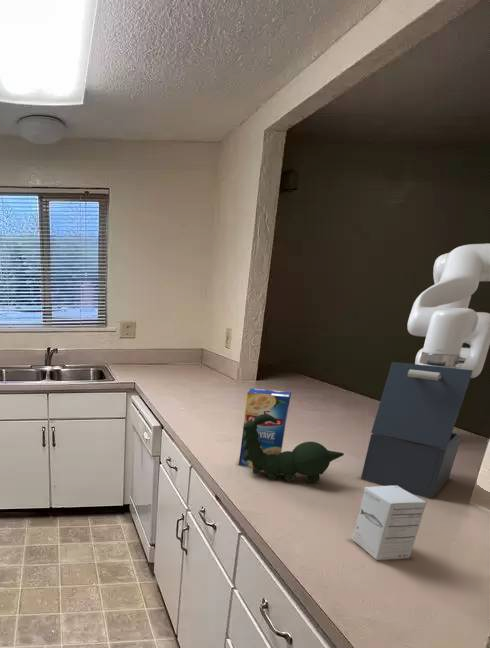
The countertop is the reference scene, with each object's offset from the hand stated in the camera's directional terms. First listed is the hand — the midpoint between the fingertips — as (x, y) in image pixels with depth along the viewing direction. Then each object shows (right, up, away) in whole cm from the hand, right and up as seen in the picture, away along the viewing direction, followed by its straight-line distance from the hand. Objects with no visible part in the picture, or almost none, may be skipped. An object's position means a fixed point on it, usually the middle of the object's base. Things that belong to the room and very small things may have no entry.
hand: (419, 428), depth 116 cm
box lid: (-7, +6, -8) cm, 12 cm away
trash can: (-1, -14, +4) cm, 14 cm away
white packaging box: (-30, -26, -28) cm, 49 cm away
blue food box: (-37, -10, +14) cm, 41 cm away
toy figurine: (-34, -14, +5) cm, 37 cm away
